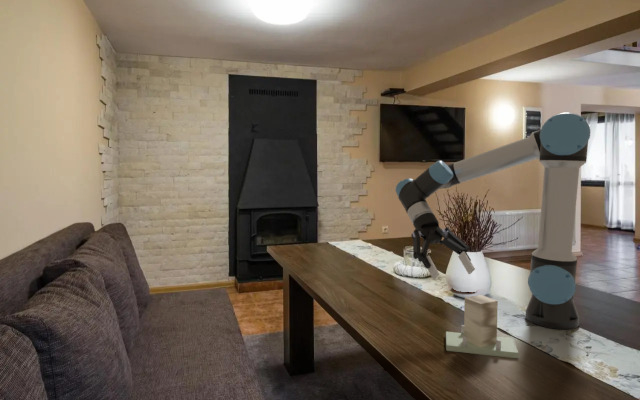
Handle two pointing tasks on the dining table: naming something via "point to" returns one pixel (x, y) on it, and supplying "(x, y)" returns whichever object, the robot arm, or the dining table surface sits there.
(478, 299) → the tan block
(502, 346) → the peg board
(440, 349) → the dining table surface
